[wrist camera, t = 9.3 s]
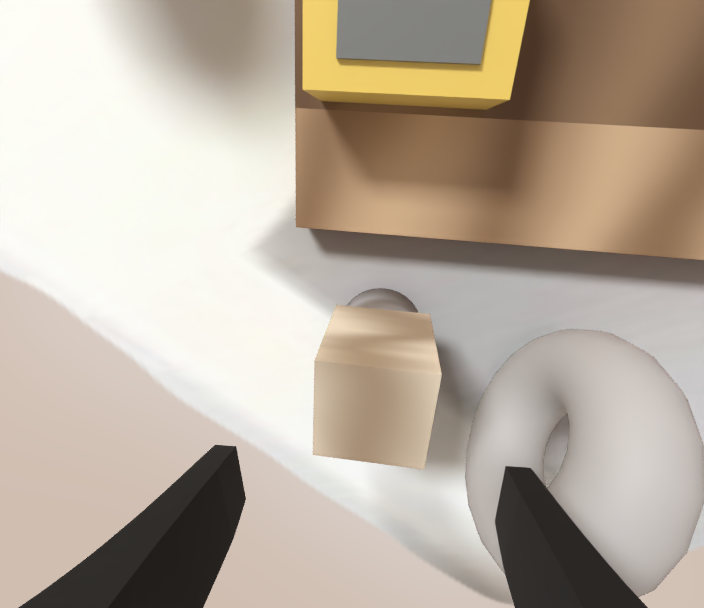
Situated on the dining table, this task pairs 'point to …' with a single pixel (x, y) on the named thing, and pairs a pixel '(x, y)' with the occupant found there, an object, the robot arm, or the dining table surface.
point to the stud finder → (412, 51)
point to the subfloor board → (531, 142)
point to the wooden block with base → (376, 382)
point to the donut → (594, 449)
